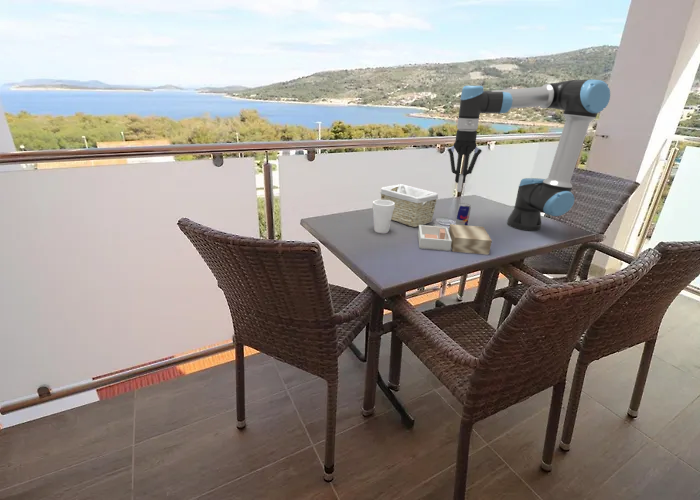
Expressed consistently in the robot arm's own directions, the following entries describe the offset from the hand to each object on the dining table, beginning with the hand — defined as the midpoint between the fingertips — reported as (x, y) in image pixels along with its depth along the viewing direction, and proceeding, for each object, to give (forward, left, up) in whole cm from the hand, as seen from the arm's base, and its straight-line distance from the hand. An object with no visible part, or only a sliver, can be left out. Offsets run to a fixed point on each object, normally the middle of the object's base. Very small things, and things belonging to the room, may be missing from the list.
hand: (458, 190), depth 151 cm
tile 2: (+4, +5, -18) cm, 20 cm away
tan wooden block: (-6, +5, -21) cm, 23 cm away
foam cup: (+30, -4, -22) cm, 37 cm away
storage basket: (+19, -23, -22) cm, 37 cm away
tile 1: (+9, +5, -19) cm, 21 cm away
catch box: (+8, +5, -21) cm, 23 cm away
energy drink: (-6, -14, -22) cm, 27 cm away
